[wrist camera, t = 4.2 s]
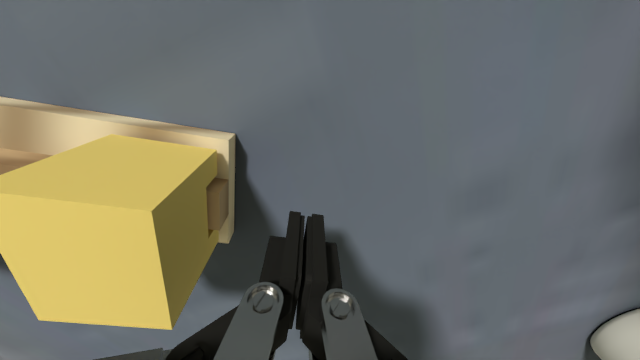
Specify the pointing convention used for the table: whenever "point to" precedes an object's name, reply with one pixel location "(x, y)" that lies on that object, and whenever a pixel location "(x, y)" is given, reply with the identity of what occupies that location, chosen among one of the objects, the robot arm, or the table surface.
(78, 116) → the rail
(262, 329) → the robot arm
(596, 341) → the milk bottle
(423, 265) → the table surface
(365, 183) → the table surface
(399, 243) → the table surface
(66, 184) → the block
